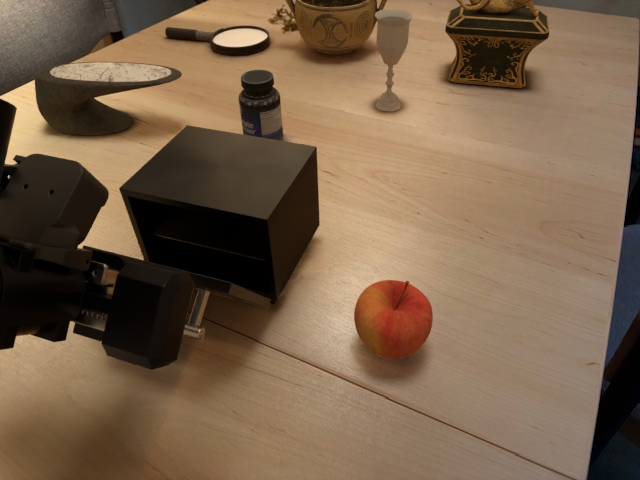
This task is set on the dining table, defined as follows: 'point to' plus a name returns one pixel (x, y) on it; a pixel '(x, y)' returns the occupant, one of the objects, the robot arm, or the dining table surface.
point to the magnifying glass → (227, 38)
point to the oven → (227, 207)
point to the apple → (393, 318)
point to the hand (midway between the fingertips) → (133, 287)
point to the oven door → (206, 295)
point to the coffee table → (92, 93)
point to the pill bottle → (260, 105)
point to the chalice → (391, 49)
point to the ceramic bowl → (335, 23)
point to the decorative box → (494, 41)
